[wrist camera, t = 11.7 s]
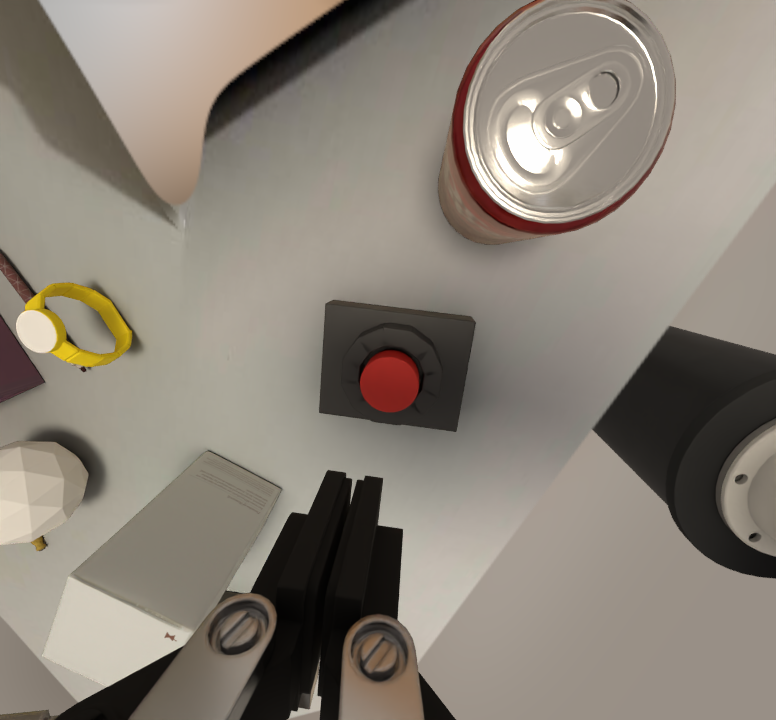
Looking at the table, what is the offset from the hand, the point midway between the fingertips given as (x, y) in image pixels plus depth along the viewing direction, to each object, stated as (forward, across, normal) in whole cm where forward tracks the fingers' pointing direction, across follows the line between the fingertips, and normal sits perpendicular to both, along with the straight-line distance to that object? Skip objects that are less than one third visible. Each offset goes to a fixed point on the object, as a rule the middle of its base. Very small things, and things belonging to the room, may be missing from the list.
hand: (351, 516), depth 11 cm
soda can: (+17, -5, -12) cm, 22 cm away
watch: (+17, +22, 0) cm, 28 cm away
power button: (+13, 0, 0) cm, 13 cm away
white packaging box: (+17, +13, +14) cm, 26 cm away
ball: (+17, +28, +14) cm, 35 cm away
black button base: (+17, 0, 0) cm, 17 cm away
